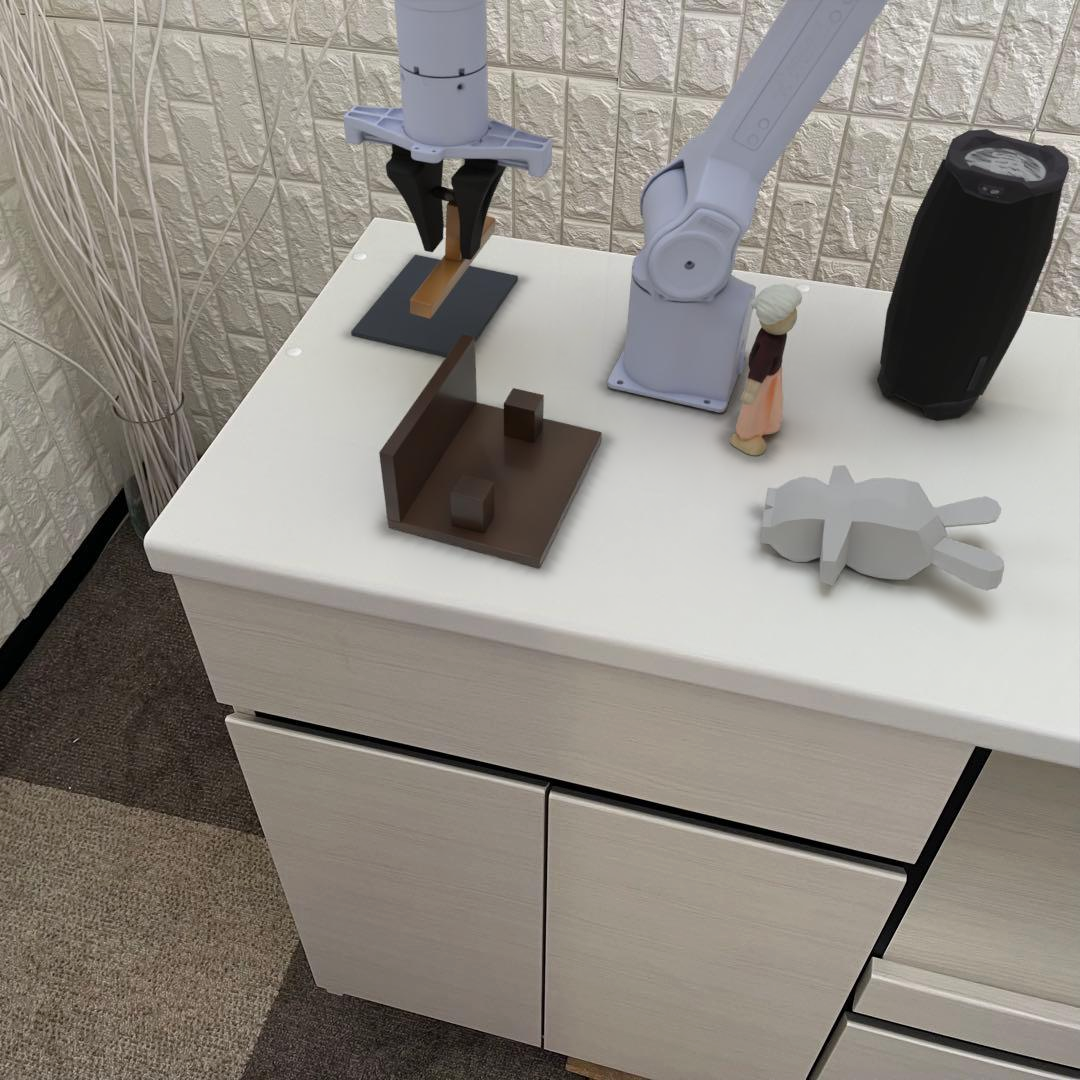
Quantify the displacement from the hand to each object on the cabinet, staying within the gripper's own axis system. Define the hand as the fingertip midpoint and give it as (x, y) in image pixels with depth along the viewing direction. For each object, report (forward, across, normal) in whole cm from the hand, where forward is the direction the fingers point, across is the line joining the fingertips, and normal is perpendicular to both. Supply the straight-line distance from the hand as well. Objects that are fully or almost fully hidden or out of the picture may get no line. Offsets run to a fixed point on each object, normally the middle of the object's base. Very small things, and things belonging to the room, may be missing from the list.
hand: (451, 248), depth 78 cm
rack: (+10, +8, -12) cm, 18 cm away
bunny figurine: (+11, +34, -10) cm, 37 cm away
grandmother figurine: (+11, +24, 0) cm, 26 cm away
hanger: (+2, 0, 0) cm, 2 cm away
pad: (+10, -5, +7) cm, 13 cm away
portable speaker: (+11, +36, +10) cm, 39 cm away
